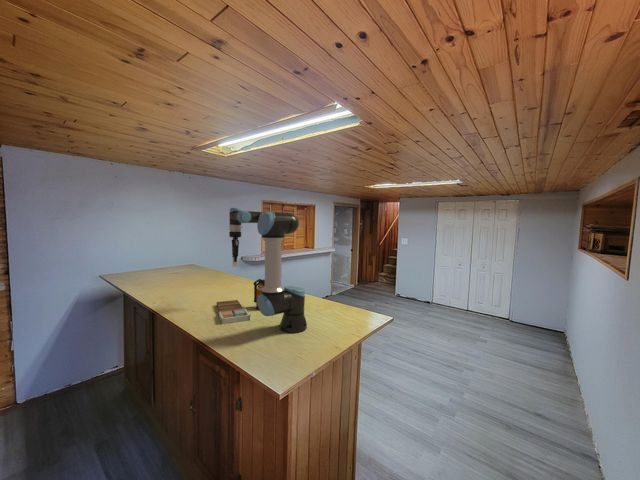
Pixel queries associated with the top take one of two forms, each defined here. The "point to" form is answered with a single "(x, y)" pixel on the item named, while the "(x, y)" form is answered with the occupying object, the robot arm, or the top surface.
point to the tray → (234, 318)
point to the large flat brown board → (229, 306)
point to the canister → (258, 289)
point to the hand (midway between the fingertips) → (235, 266)
